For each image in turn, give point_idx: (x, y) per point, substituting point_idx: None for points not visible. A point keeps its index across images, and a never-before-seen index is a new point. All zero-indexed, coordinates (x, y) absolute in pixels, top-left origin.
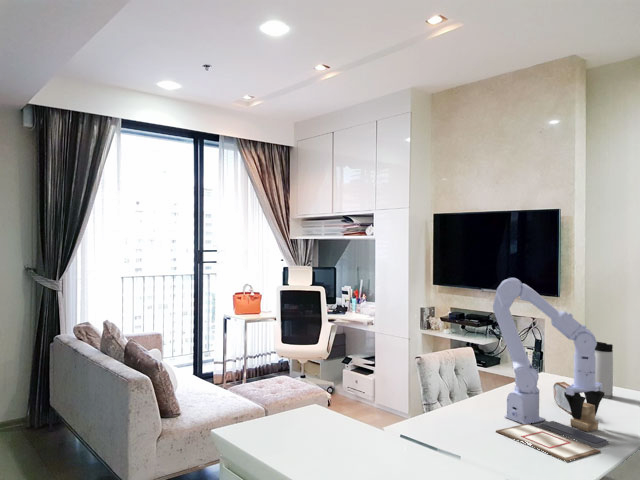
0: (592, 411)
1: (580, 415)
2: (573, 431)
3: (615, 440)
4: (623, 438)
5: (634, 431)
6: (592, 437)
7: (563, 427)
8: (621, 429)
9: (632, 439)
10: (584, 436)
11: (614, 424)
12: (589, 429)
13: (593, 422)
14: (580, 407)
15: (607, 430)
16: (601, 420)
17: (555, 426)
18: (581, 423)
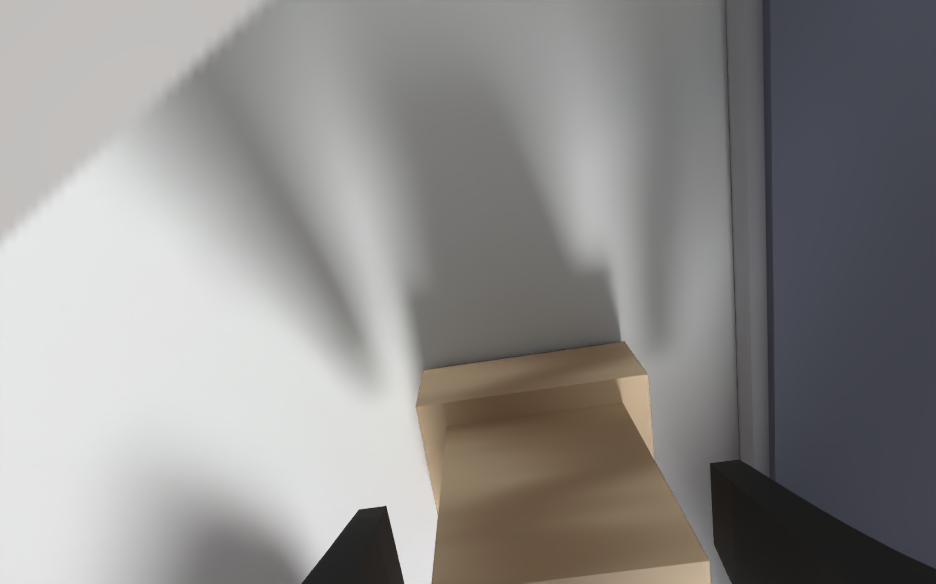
0: (508, 510)
1: (761, 484)
2: (884, 333)
3: (525, 56)
4: (366, 77)
5: (33, 213)
6: (867, 108)
7: (868, 455)
8: (141, 303)
9: (282, 16)
10: (930, 166)
11: (96, 434)
12: (588, 353)
13: (487, 414)
14: (901, 563)
15: (333, 324)
16: (145, 550)
17: (922, 500)
18: (652, 439)
